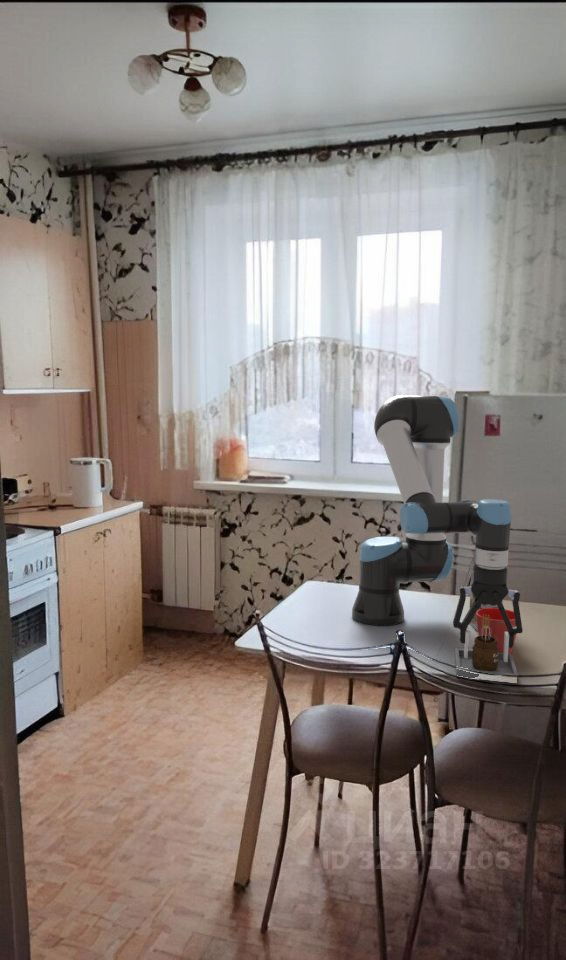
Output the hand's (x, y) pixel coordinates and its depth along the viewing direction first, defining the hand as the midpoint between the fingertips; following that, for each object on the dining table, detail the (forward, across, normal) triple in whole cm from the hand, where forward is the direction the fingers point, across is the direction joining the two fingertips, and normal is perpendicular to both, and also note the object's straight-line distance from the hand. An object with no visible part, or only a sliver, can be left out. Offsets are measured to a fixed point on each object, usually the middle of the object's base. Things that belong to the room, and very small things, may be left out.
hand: (485, 657), depth 166 cm
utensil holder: (+2, 0, 0) cm, 2 cm away
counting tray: (+3, 0, 0) cm, 3 cm away
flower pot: (+3, +4, +14) cm, 15 cm away
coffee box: (+3, +2, +31) cm, 31 cm away
